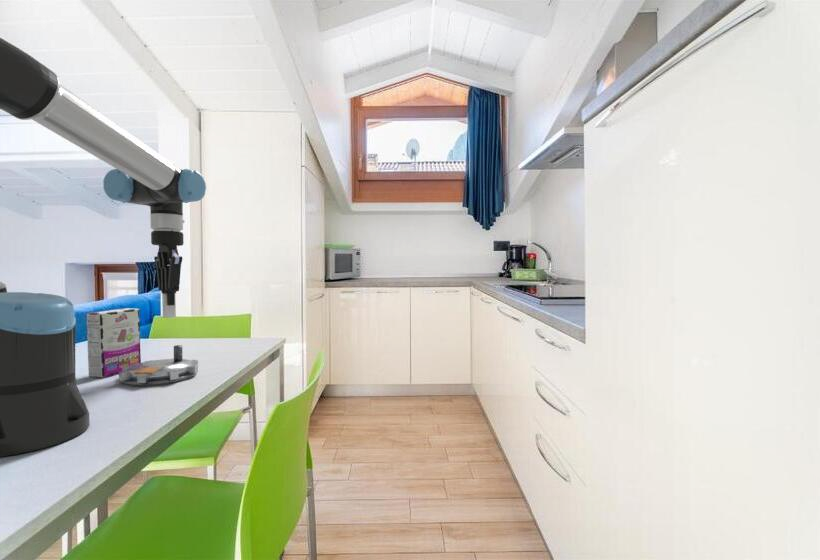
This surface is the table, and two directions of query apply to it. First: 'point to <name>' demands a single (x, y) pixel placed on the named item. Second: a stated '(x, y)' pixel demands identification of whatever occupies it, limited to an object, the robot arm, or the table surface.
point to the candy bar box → (112, 341)
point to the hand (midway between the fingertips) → (169, 317)
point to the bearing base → (159, 381)
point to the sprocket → (160, 368)
